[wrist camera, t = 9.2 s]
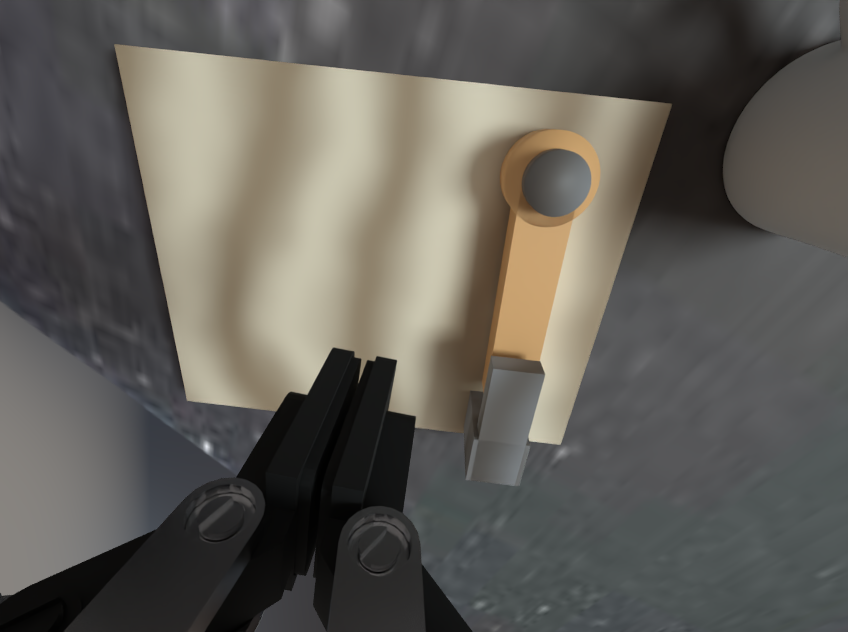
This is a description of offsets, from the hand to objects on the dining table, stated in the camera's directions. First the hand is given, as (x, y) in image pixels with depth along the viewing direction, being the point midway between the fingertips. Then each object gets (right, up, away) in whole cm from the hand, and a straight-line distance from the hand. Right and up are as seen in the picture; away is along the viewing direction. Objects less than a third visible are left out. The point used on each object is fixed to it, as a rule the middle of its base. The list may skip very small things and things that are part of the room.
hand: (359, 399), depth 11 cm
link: (+7, +4, +11) cm, 13 cm away
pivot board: (-1, +5, +13) cm, 14 cm away
